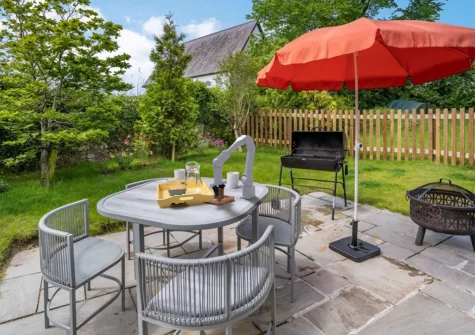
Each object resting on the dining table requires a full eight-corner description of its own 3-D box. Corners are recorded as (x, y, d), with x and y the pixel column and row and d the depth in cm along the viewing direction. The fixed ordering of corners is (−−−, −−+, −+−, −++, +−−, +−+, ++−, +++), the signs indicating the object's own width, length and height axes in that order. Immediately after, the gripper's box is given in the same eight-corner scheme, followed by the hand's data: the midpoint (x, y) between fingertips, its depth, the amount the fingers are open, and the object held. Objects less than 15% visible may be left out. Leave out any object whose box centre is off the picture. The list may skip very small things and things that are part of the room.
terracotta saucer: (218, 196, 216) (218, 193, 216) (234, 200, 207) (234, 196, 207) (203, 201, 205) (203, 198, 204) (219, 205, 196) (219, 201, 195)
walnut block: (218, 197, 209) (218, 187, 207) (223, 198, 205) (223, 188, 204) (214, 198, 206) (214, 188, 204) (219, 200, 202) (219, 190, 201)
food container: (168, 205, 198) (167, 190, 197) (169, 202, 204) (168, 188, 203) (187, 204, 201) (186, 189, 199) (187, 201, 207) (186, 187, 205)
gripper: (214, 178, 195) (215, 198, 197) (229, 174, 206) (230, 194, 208) (207, 177, 199) (208, 197, 202) (222, 173, 210) (222, 192, 213)
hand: (218, 195), depth 205 cm, fingers closed on walnut block, 4 cm apart
